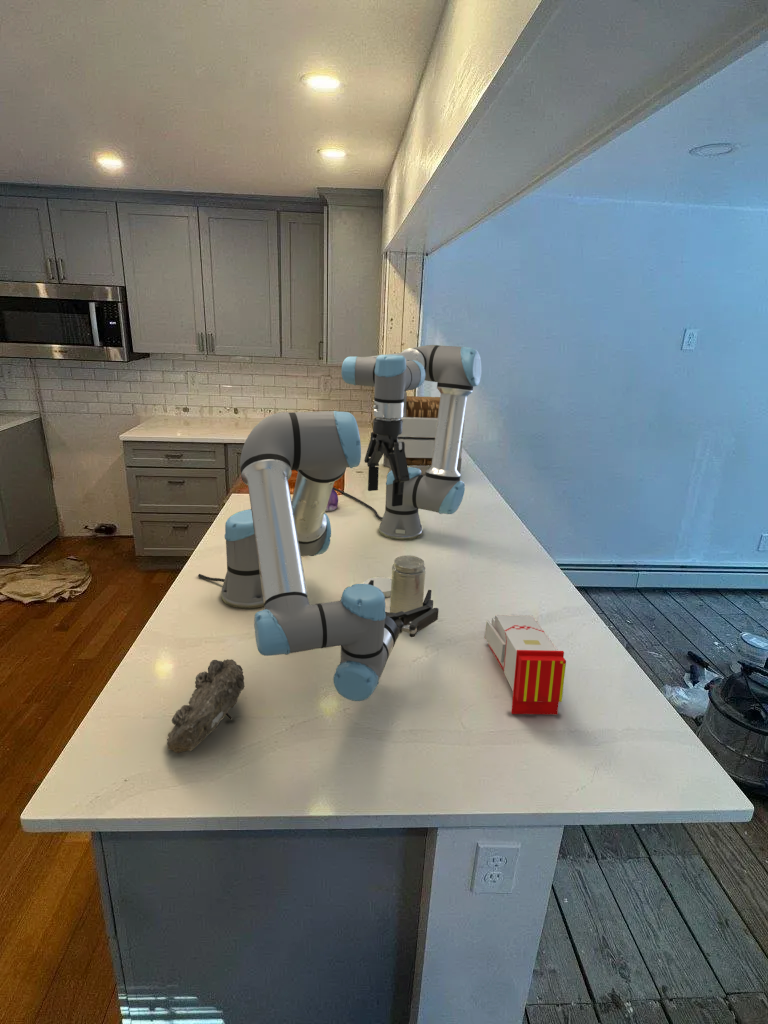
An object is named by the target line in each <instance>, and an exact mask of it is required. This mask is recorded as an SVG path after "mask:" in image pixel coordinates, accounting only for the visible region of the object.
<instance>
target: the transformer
mask: <svg viewBox="0 0 768 1024" xmlns="http://www.w3.org/2000/svg"><path fill="white" fill-rule="evenodd" d="M407 394H408V393H407V391H404V409H403V417H402V418H401V419H402V421H403V426H402V433H401V434H400V435H398V437H397V439H398V442H404V443H405V456H406V461H407V467H410V466H411V467H417V466H418V467H431V464H432V457H433V449H434V441H435V434H436V426H437V419H438V411H439V403H440V396H415V395H414V396H413V395H412V396H411V395H407ZM464 429H465V419H464V422H463V429H462V436H461V443H460V450H459V458H458V465H457V471H458V472H459V473H460V475H461V472H462V461H463V460H462V453H463V442H464V441H463V440H462V439H463V438H464V431H465V430H464ZM383 466H384V467H388V468H389V472H390V471H391V470H392V469H391V466H390V462H389V459H387V458H386V455H384V454H383Z"/></svg>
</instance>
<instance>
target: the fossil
mask: <svg viewBox="0 0 768 1024" xmlns="http://www.w3.org/2000/svg"><path fill="white" fill-rule="evenodd" d="M243 670H244V669H243V667H242V665H240V664H237V662H236V661H235V660H234V659H232V658H231V659H227V658H226V659H224V660H223V661H222V660H217V659H212V660H211V661H210V663H209V665H208V666H207V671H201V672H199V673H198V674H197V675H196V676H195V680H194V684H195V685H194V687H195V689H194V690H193V693H192V694H191V697H190V698H189V700H188V704H184V705H182V706H181V707H180V709H177V710H176V711H175V713H174V715H173V716H172V718H171V723H172V724H173V727H172V730H171V731H170V732H168V734H167V738H166V741H167V742H166V745H167V749H168V750H169V751H173V752H174V753H176V754H178V753H182V752H188V751H189V752H192V751H193V750H195V748H196V747H197V746H199V744H200V743H201V742H203V741H204V740H205V739H206V738H207V737H208V736H209V735H210V734H211V733H212V732H214V730H215V729H217V727H218V726H219V724H220V722H221V721H222V720H223V719H224V718H225V716H226V717H227V719H229V720H233V717H232V715H230V714H229V710H230V709H231V708H234V706H235V704H236V703H237V702H238V699H239V697H240V695H241V693H242V691H243V690H245V689H244V688H245V675H244V671H243Z"/></svg>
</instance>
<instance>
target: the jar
mask: <svg viewBox="0 0 768 1024" xmlns="http://www.w3.org/2000/svg"><path fill="white" fill-rule="evenodd" d="M391 579H392V580H391V596H390V600H389V612H392V613H397V612H401V611H403V612H407V611H410V610H413V609H416V608H419V607H422V606H423V602H424V598H425V596H424V595H425V583H426V563H425V561H424V560H423V559H422V558H421V557H419V556H414V555H400V556H398V557H396V558H394V560H393V564H392V565H391Z"/></svg>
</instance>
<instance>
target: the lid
mask: <svg viewBox="0 0 768 1024" xmlns="http://www.w3.org/2000/svg"><path fill="white" fill-rule="evenodd" d="M370 580H374V586H375V587H377V588H379V589H380V590H381V591H382V592H383V594H384V596H385V598H389V597H391V580H392V578H390V577H386V576H372V577H369V578H366V579H365V580H364V581H363V584H368V583H369V582H370Z"/></svg>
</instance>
